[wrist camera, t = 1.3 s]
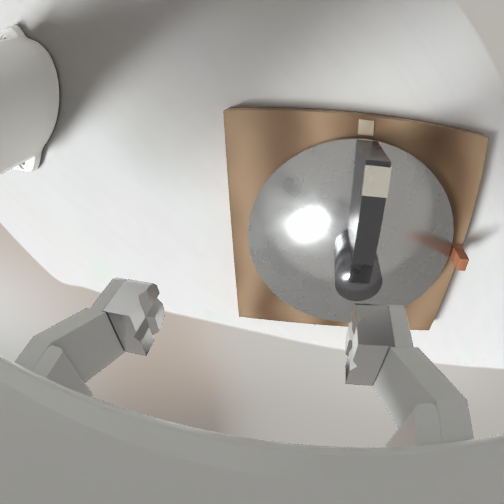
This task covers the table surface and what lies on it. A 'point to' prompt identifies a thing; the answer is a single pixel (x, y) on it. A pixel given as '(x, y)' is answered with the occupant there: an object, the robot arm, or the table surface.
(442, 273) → the dial plate
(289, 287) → the dial
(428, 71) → the table surface
